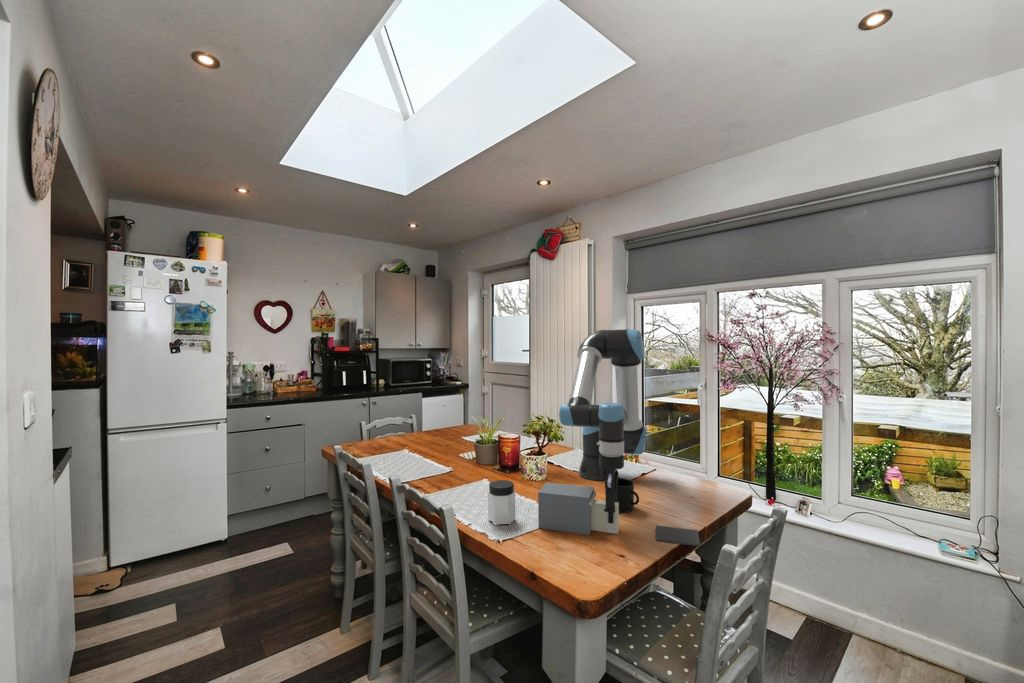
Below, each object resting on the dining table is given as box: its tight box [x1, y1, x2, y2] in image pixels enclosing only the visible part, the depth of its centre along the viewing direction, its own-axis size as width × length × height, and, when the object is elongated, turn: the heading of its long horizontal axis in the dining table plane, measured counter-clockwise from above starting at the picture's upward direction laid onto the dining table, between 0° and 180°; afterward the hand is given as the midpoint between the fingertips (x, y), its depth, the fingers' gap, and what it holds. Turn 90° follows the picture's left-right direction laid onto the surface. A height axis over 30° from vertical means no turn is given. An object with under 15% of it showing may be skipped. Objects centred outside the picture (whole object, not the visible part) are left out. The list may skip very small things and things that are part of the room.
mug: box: [617, 477, 640, 513], centre depth 151 cm, size 9×12×9 cm
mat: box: [655, 524, 702, 548], centre depth 130 cm, size 10×12×1 cm
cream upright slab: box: [591, 499, 620, 535], centre depth 135 cm, size 3×13×8 cm, turn 71°
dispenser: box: [537, 482, 597, 536], centre depth 138 cm, size 10×17×11 cm, turn 71°
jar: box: [487, 479, 516, 525], centre depth 142 cm, size 9×8×12 cm
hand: (611, 529), depth 134 cm, fingers closed on cream upright slab, 3 cm apart
